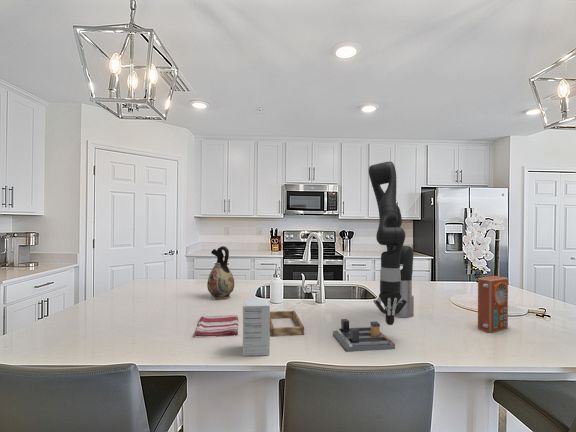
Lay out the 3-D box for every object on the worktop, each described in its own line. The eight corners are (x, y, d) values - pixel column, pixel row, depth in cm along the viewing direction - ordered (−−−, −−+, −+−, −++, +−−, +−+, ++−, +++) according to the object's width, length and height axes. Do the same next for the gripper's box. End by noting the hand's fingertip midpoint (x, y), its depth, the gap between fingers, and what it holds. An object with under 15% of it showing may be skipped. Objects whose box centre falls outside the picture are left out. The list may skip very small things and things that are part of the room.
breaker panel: (375, 332, 132) (376, 316, 132) (395, 348, 116) (395, 330, 116) (333, 334, 129) (333, 318, 129) (346, 351, 113) (346, 332, 113)
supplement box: (269, 355, 109) (270, 305, 109) (242, 356, 109) (242, 306, 109) (269, 344, 119) (269, 298, 119) (243, 345, 118) (244, 299, 118)
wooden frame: (294, 317, 152) (294, 310, 152) (304, 334, 129) (304, 327, 129) (266, 318, 150) (266, 311, 150) (271, 336, 127) (271, 328, 127)
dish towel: (193, 339, 125) (193, 332, 125) (200, 320, 149) (200, 314, 149) (237, 337, 128) (237, 330, 128) (238, 318, 151) (238, 312, 151)
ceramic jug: (201, 298, 185) (201, 246, 185) (221, 293, 198) (221, 244, 198) (222, 303, 175) (222, 247, 175) (241, 297, 188) (242, 245, 188)
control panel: (511, 328, 138) (490, 334, 131) (494, 323, 144) (473, 328, 137) (511, 277, 138) (490, 280, 131) (494, 275, 144) (473, 277, 137)
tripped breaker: (376, 334, 125) (376, 321, 125) (379, 337, 122) (379, 323, 122) (370, 335, 125) (370, 321, 125) (373, 337, 122) (373, 324, 122)
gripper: (401, 277, 129) (401, 321, 129) (369, 277, 127) (369, 321, 127) (411, 280, 122) (410, 327, 121) (377, 281, 120) (377, 328, 120)
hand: (389, 324), depth 124 cm, fingers closed
